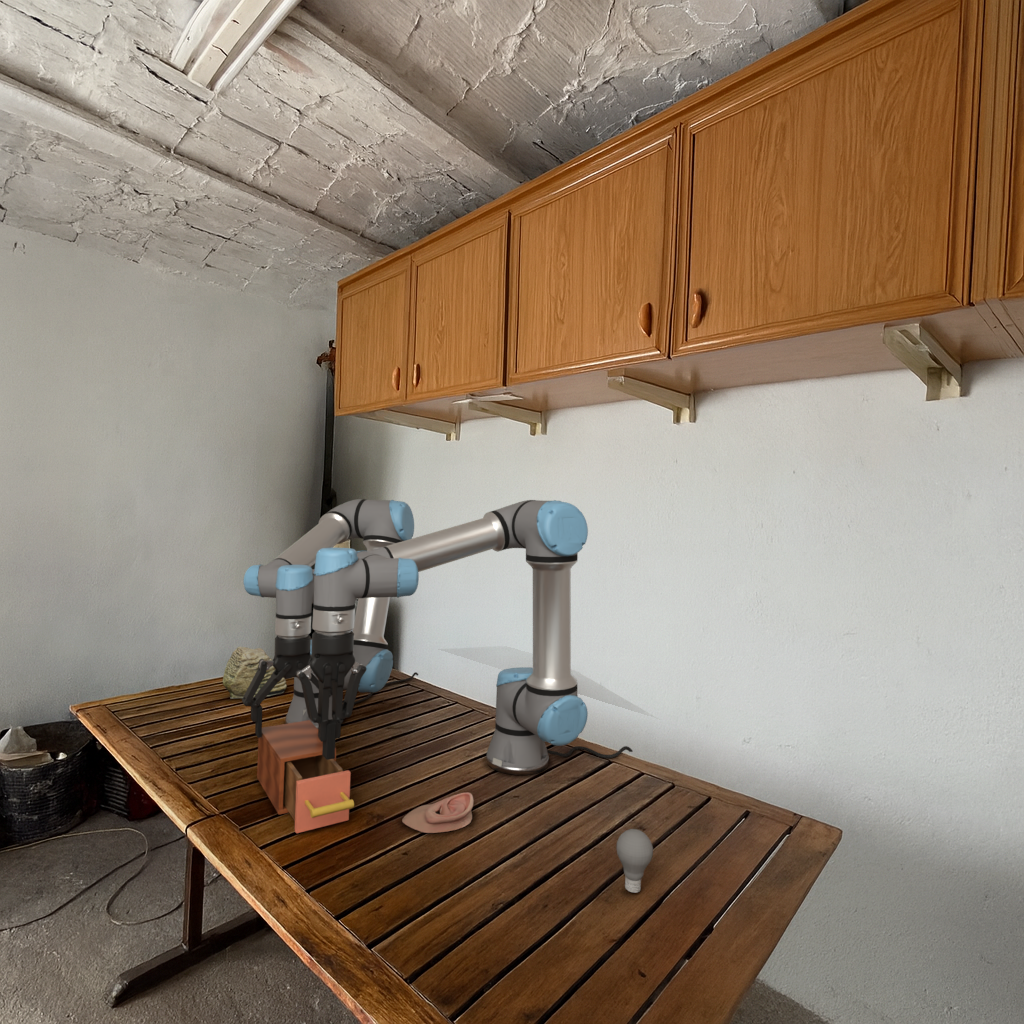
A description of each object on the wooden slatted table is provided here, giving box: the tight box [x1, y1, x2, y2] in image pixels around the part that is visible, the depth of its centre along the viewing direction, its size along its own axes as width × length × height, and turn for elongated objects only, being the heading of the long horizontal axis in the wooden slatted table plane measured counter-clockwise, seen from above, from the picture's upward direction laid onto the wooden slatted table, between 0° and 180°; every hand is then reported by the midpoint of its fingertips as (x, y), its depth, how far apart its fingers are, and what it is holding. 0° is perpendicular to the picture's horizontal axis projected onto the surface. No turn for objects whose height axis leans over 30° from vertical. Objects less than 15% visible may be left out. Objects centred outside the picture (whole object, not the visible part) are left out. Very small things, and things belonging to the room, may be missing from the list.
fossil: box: [222, 646, 288, 699], centre depth 198 cm, size 9×18×15 cm, turn 132°
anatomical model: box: [401, 791, 474, 834], centre depth 126 cm, size 13×4×12 cm
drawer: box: [283, 755, 355, 834], centre depth 125 cm, size 23×10×9 cm, turn 34°
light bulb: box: [615, 828, 654, 894], centre depth 106 cm, size 6×6×10 cm
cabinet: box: [256, 720, 337, 815], centre depth 136 cm, size 19×11×11 cm, turn 34°
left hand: (290, 729), depth 141 cm, fingers open, 13 cm apart
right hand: (328, 756), depth 118 cm, fingers closed
